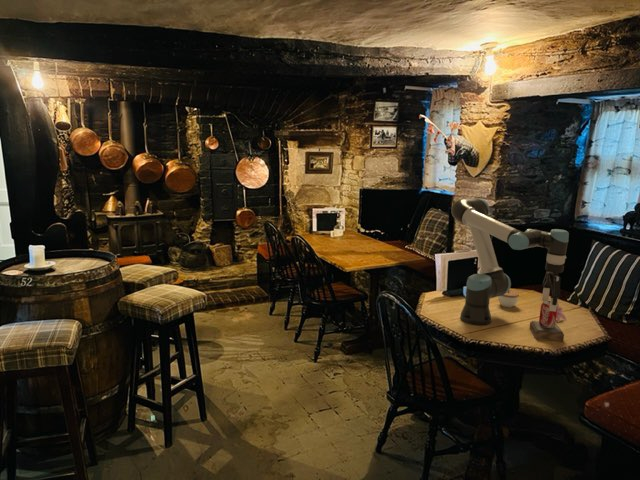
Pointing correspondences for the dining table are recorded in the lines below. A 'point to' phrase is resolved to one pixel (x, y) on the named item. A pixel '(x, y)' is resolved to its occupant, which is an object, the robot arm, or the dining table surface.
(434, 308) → the dining table surface
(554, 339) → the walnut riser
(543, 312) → the soda can
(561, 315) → the lily
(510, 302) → the lidded jar
